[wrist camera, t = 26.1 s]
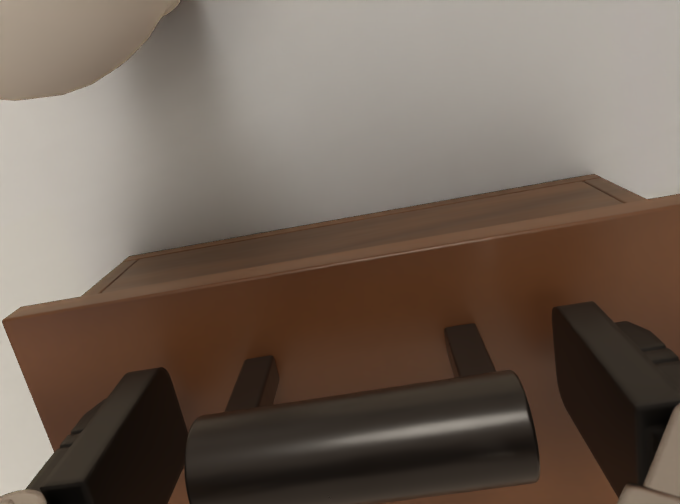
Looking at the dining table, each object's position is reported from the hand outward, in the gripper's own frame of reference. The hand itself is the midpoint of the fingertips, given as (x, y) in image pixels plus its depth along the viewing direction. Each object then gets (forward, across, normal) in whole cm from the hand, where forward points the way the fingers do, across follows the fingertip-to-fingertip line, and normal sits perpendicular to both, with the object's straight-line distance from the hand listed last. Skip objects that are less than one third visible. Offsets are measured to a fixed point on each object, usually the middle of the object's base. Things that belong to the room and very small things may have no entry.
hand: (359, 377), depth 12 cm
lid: (+2, 0, +7) cm, 7 cm away
